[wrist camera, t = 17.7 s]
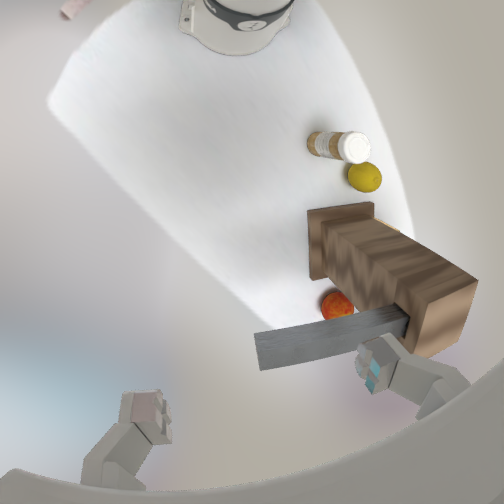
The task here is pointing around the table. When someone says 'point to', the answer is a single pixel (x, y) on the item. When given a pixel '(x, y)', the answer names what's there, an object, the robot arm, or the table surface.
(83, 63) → the table surface
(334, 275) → the block
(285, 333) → the shaft
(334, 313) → the fruit
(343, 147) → the sprinkles bottle
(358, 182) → the lemon
